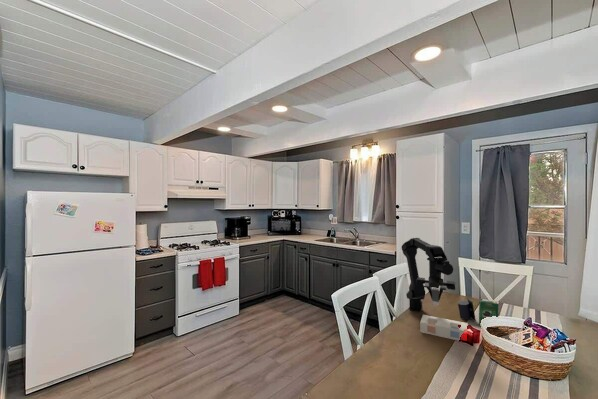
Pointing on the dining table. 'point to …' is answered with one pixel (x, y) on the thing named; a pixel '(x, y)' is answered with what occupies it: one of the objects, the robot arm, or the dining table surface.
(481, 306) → the coffee box
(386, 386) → the dining table surface
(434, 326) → the port block
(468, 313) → the speaker
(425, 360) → the dining table surface
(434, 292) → the plug
